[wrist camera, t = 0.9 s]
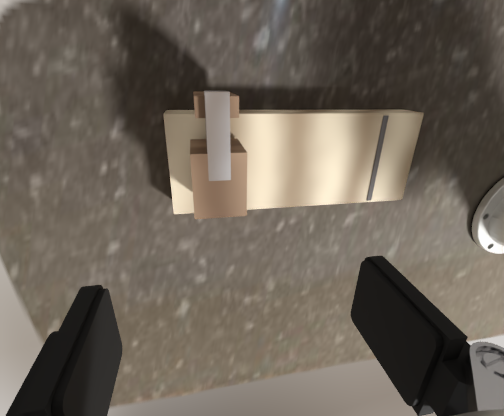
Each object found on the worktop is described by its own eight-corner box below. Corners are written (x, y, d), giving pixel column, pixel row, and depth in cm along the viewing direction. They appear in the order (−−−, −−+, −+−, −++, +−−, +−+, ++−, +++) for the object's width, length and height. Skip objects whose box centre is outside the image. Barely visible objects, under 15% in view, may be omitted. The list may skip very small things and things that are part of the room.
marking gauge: (235, 88, 24) (248, 92, 19) (236, 188, 28) (246, 215, 23) (186, 87, 24) (185, 91, 18) (194, 190, 27) (194, 219, 22)
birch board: (403, 109, 30) (424, 113, 28) (385, 189, 34) (402, 200, 31) (166, 110, 26) (163, 114, 23) (175, 201, 30) (173, 214, 27)
